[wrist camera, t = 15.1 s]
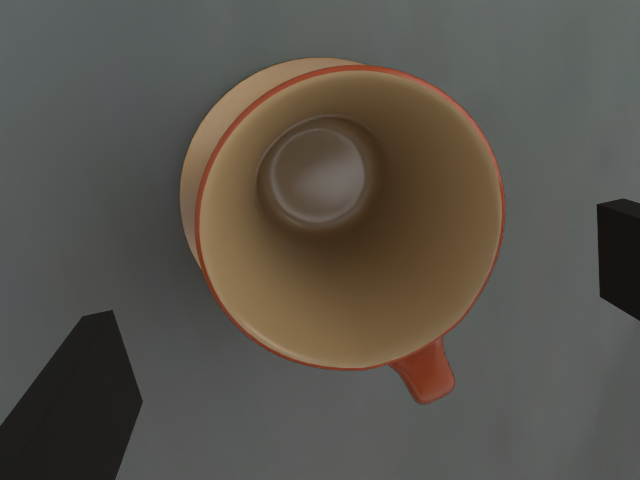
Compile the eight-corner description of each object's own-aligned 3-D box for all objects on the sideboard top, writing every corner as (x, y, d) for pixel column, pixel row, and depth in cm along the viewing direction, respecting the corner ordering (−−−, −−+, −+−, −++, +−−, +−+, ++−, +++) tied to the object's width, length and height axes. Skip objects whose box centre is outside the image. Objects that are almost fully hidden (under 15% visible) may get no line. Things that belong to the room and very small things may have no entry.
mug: (182, 130, 23) (128, 164, 14) (359, 36, 23) (436, 1, 13) (306, 344, 27) (335, 493, 17) (461, 265, 27) (579, 370, 17)
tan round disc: (465, 295, 28) (468, 298, 27) (218, 351, 27) (217, 354, 27) (435, 32, 24) (438, 31, 23) (146, 88, 23) (144, 88, 23)
